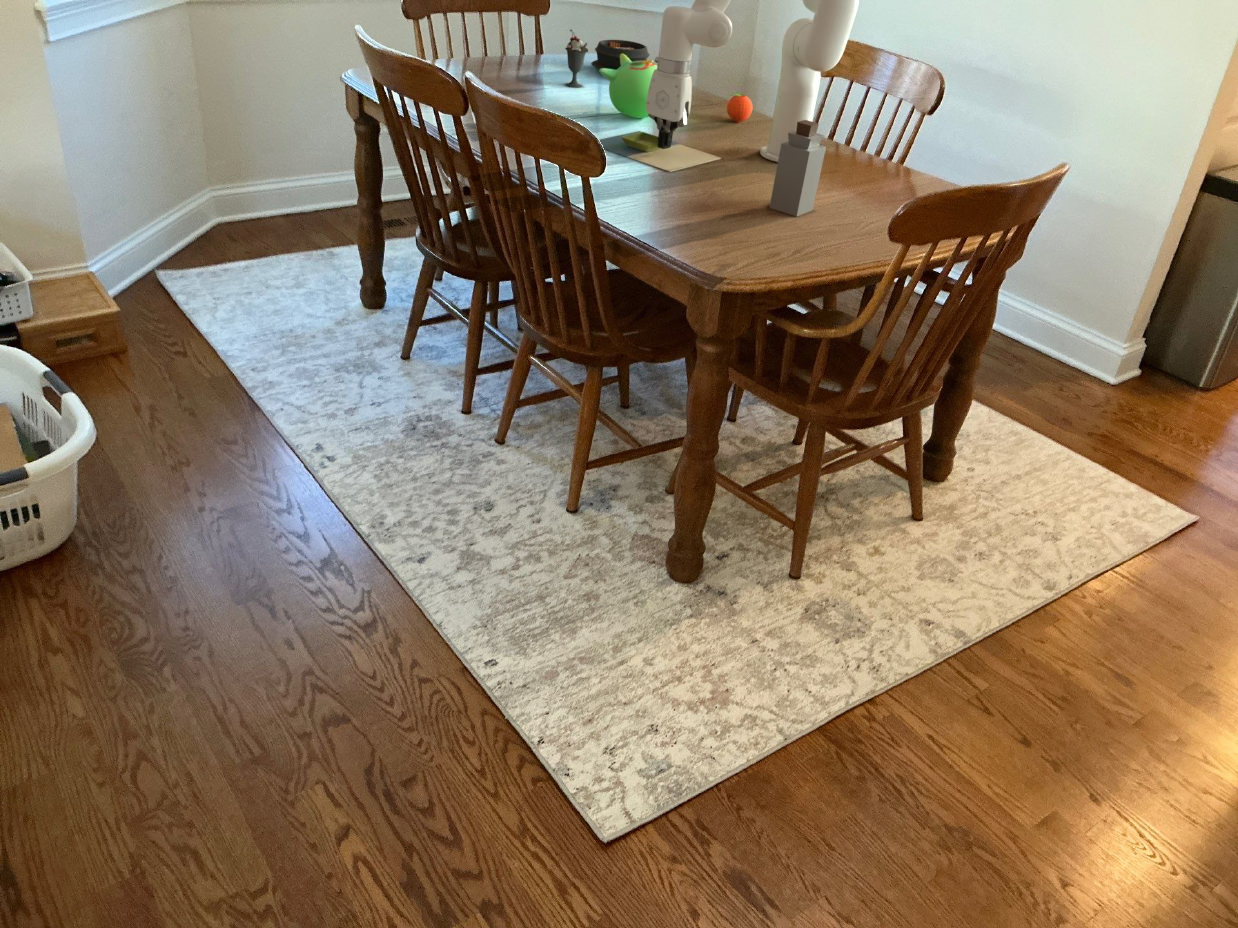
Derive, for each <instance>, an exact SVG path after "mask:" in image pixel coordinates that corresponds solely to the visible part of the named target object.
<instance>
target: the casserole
mask: <svg viewBox="0 0 1238 928" xmlns="http://www.w3.org/2000/svg"><path fill="white" fill-rule="evenodd" d="M594 51H595V52H596V58H597V59H596V60H593V61H591V63H590V64H591V66H592V67H593V68H594V69H597V70H600V69H601V68H606V69H614V70H617V69H618V68H619V67H621V63H620V54H625V55H626V56H627V57H628V58H629V59H630V60H631V61H632V62H634V61H638V60H641V61H648V58H649V57H650V53H649V51H648V46H646V45H645V44H642V43H639V42H636V41H631V40H624V39H604V40H600V41H598V43H597V45H596V47H595V48H594Z"/></svg>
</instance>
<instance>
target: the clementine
mask: <svg viewBox="0 0 1238 928" xmlns="http://www.w3.org/2000/svg"><path fill="white" fill-rule="evenodd" d="M728 97H731V98H730V99H729V101H728V102H727V105H726V112H727V115H728V117H729V118H730V119H731V120H732V121H734V122H737V123H738V122H739V123H740V122H744V121H745V120H747V119H749V118H750V116H751V115H752V112H753V103H752V101H751V99H750V98H749V97H748V96H747V95H744V94H743V93H742V94H739V93H735V94H734V93H733V94H731V95H728V96H727V97H726V98H725V99H724V101H726V100H727V98H728Z"/></svg>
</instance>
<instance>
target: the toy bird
mask: <svg viewBox="0 0 1238 928" xmlns="http://www.w3.org/2000/svg"><path fill="white" fill-rule="evenodd" d="M620 63H621V67H619V68H618V69H617V70H614V69H606V68H601V69H598V72H599V74H600V75H602V77H604V78H605V79H606V80H607V81H609V85H608V95H609V99H610V102H611V103H612V105H613V107H614V108H615V109H616V110H617V111H618V112H619V113H620V114H622V115H624V116H625V117H630V118H633V119H645V118H650V117H649V116H648V113H647V111H646V102H647V95H648V90H649V85H650V81H651V78H652V74H653V72H654V70H655V69H657V65H658V64H654V63H655V60H652V59H651V60H646V61H641V60H638V61H634V62H632V61H631V60H630V59H629V58H628V57H627V56H626V55H625V54H620Z"/></svg>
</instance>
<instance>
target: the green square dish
mask: <svg viewBox="0 0 1238 928" xmlns="http://www.w3.org/2000/svg"><path fill="white" fill-rule="evenodd" d="M621 138H622V140H623V141H624V143H625V144H626V145H627V146H629V147H632V148H635V149H638V150H642V151H645V152H650V151H653V150H657V149H661V148H658V136H657V135H654V134H651V133H648V132H644V131H641V132H639V133H635V134H631V135H626V136H622V137H621Z"/></svg>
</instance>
